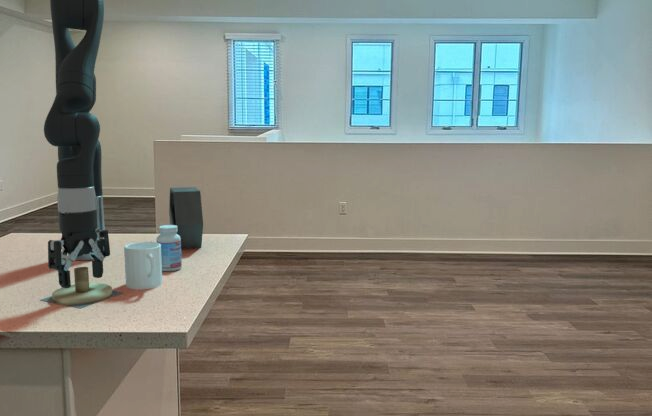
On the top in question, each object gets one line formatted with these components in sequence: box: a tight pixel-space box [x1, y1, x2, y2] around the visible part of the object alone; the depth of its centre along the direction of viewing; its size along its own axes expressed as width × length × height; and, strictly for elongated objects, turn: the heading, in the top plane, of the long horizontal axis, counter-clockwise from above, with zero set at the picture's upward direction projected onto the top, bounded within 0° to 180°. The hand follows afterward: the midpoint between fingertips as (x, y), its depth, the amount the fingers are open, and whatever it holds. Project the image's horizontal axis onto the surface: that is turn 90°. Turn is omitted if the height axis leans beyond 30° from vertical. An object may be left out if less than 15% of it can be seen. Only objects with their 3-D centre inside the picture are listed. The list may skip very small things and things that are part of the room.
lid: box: [51, 266, 113, 306], centre depth 126 cm, size 12×12×6 cm
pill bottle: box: [156, 224, 183, 272], centre depth 150 cm, size 6×6×11 cm
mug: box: [123, 241, 163, 290], centre depth 133 cm, size 8×12×10 cm
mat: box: [39, 289, 125, 310], centre depth 126 cm, size 12×12×1 cm
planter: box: [168, 186, 204, 250], centre depth 177 cm, size 17×8×21 cm
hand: (82, 282), depth 126 cm, fingers open, 8 cm apart
